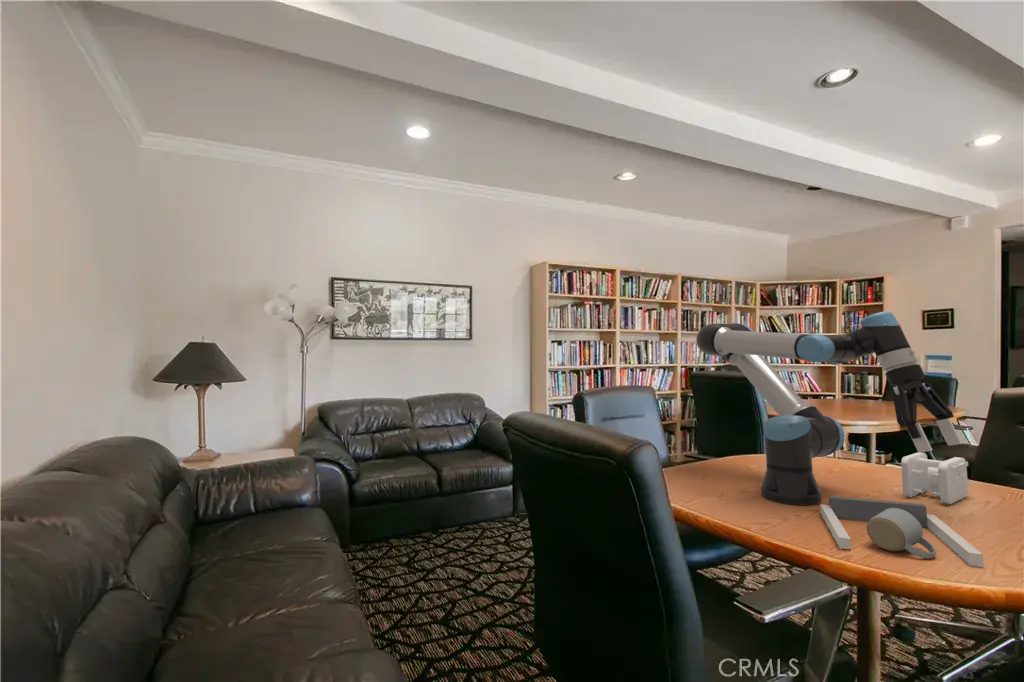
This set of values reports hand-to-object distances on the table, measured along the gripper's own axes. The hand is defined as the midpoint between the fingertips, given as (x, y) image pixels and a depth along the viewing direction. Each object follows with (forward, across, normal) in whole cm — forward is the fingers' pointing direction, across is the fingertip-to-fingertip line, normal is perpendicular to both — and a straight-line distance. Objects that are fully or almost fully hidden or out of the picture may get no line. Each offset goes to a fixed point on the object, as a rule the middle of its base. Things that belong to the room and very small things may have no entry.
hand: (940, 448), depth 113 cm
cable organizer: (+14, +19, +16) cm, 28 cm away
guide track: (+16, -23, +6) cm, 29 cm away
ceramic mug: (+18, -28, +2) cm, 34 cm away
